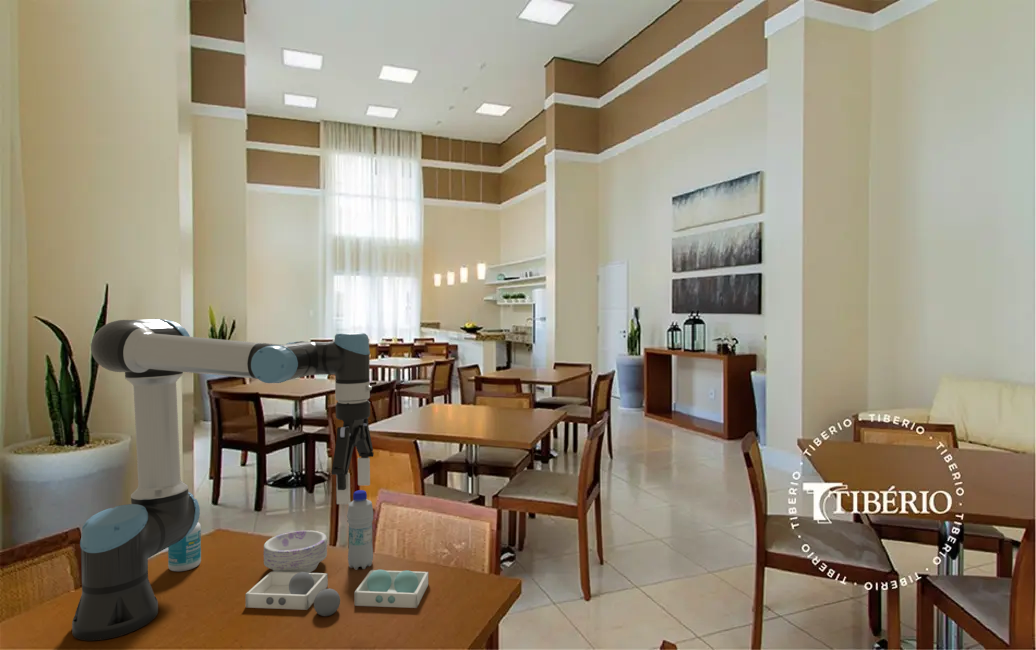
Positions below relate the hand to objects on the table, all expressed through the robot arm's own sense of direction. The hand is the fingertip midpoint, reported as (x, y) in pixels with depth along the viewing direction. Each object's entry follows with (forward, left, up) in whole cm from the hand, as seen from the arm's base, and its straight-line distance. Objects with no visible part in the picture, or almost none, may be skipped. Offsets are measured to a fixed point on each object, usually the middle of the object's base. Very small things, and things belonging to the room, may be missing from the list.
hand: (354, 494), depth 132 cm
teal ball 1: (+5, +3, -24) cm, 25 cm away
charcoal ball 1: (-13, +1, -24) cm, 28 cm away
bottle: (-5, +18, -25) cm, 31 cm away
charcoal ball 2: (-4, -6, -25) cm, 26 cm away
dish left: (-16, +1, -25) cm, 30 cm away
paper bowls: (-21, +15, -25) cm, 36 cm away
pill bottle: (-51, +15, -25) cm, 59 cm away
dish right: (+8, +3, -25) cm, 26 cm away
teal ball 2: (+11, +3, -24) cm, 27 cm away
